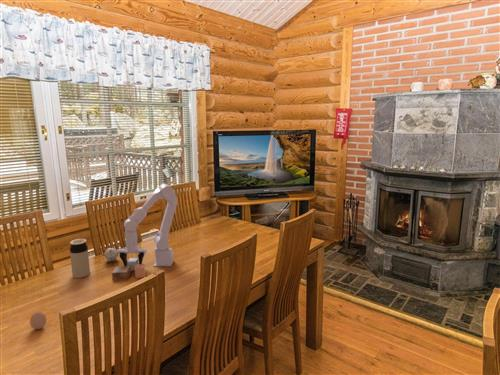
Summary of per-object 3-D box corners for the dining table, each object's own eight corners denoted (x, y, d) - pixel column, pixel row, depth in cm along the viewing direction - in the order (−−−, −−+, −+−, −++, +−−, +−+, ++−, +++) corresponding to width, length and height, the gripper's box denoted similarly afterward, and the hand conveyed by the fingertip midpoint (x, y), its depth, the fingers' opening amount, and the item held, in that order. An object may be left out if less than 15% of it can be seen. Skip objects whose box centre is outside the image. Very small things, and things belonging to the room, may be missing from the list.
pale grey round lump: (113, 268, 186) (111, 259, 179) (100, 262, 187) (98, 252, 180) (123, 256, 192) (122, 246, 185) (110, 249, 193) (108, 240, 186)
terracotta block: (145, 272, 173) (144, 263, 172) (144, 276, 169) (144, 267, 168) (135, 274, 172) (135, 264, 171) (135, 277, 167) (134, 268, 166)
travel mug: (93, 272, 173) (90, 239, 169) (81, 279, 165) (77, 244, 162) (81, 270, 175) (78, 237, 172) (68, 277, 168) (65, 242, 164)
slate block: (138, 266, 180) (138, 258, 179) (136, 270, 176) (135, 261, 175) (130, 266, 180) (129, 258, 179) (127, 270, 175) (127, 261, 174)
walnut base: (130, 273, 173) (130, 266, 172) (127, 279, 166) (126, 272, 165) (116, 273, 172) (116, 266, 171) (112, 280, 165) (111, 272, 164)
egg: (27, 330, 125) (25, 314, 123) (40, 323, 129) (38, 307, 128) (37, 333, 123) (35, 317, 122) (50, 326, 128) (48, 309, 126)
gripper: (147, 238, 179) (149, 262, 182) (120, 239, 179) (122, 262, 181) (143, 243, 172) (145, 268, 175) (115, 243, 172) (117, 268, 174)
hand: (133, 266), depth 177 cm, fingers open, 7 cm apart
